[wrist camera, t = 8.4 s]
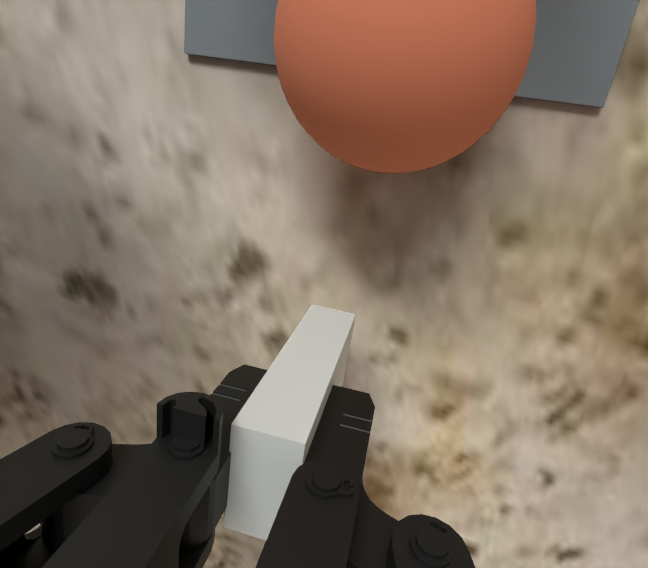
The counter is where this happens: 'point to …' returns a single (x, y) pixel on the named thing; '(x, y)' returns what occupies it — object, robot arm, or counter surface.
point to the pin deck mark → (542, 70)
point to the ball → (401, 74)
